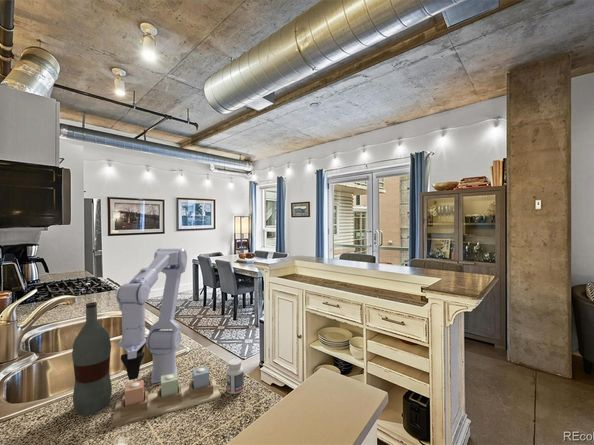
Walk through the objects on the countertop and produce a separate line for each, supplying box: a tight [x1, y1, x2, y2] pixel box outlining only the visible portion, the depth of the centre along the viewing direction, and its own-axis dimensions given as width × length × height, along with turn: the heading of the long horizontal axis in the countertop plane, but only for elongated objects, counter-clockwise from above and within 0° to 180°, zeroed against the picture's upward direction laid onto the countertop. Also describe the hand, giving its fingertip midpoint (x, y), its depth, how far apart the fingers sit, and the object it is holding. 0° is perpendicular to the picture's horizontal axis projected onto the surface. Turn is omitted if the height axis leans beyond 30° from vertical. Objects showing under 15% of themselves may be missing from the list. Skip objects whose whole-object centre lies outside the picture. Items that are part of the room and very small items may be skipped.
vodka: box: [71, 301, 113, 417], centre depth 84 cm, size 9×9×30 cm
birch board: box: [111, 375, 222, 428], centre depth 87 cm, size 11×28×3 cm, turn 116°
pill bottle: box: [226, 358, 245, 395], centre depth 92 cm, size 5×5×9 cm
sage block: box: [160, 372, 179, 398], centre depth 87 cm, size 4×4×5 cm
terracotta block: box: [124, 379, 145, 407], centre depth 83 cm, size 4×4×5 cm
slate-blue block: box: [192, 365, 210, 389], centre depth 90 cm, size 4×4×5 cm
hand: (134, 373), depth 83 cm, fingers open, 6 cm apart
